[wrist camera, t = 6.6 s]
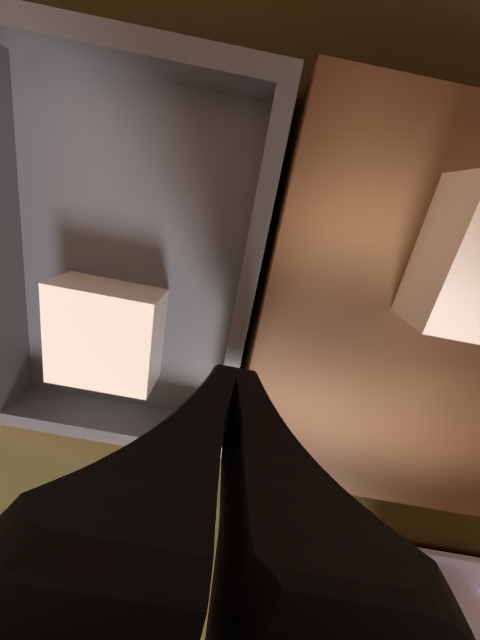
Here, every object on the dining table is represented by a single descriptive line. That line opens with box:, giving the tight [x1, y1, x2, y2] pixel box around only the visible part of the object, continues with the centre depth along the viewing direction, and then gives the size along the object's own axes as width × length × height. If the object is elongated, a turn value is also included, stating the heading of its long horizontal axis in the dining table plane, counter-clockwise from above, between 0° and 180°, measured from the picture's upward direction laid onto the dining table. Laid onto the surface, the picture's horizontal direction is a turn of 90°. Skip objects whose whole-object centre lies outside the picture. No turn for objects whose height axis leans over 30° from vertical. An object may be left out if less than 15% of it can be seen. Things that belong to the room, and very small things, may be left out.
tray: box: [0, 0, 304, 460], centre depth 12 cm, size 14×10×2 cm
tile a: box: [38, 271, 169, 400], centre depth 12 cm, size 4×4×2 cm
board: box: [243, 54, 480, 517], centre depth 12 cm, size 14×13×3 cm
